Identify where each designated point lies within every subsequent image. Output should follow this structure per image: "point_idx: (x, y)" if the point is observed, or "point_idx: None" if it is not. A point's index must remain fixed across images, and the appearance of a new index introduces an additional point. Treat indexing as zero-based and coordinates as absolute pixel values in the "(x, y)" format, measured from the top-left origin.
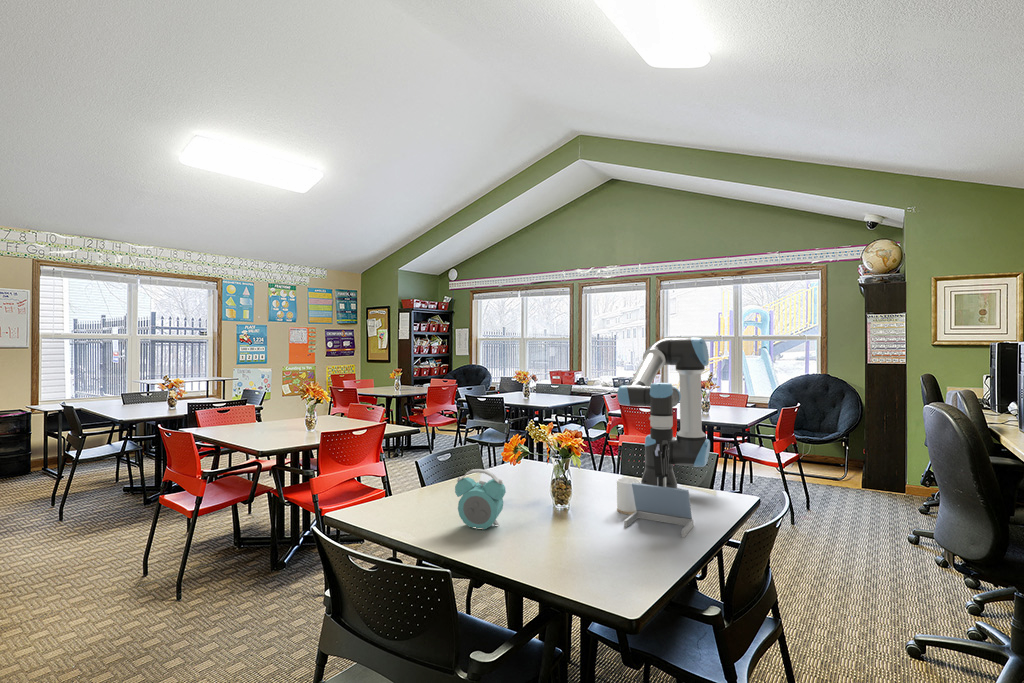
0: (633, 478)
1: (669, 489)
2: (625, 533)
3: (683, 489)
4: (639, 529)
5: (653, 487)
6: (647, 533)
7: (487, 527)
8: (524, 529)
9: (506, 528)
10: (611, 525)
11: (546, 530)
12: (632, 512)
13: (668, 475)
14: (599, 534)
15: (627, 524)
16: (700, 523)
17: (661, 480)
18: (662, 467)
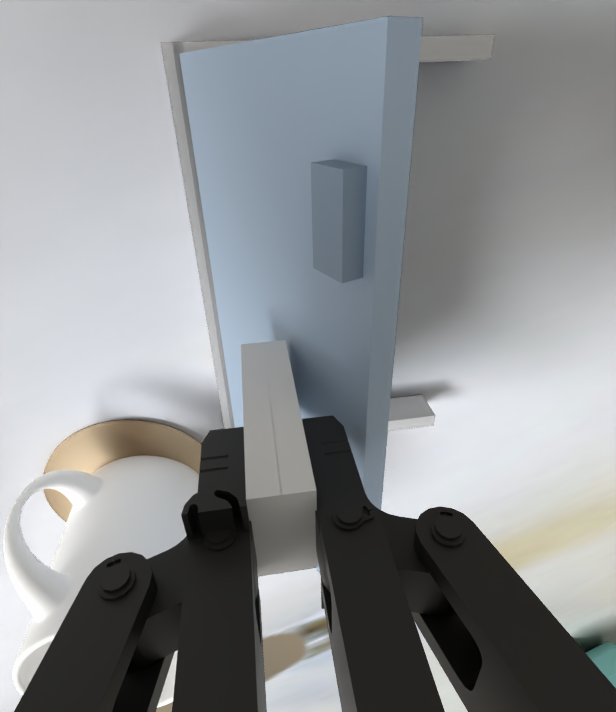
0: (18, 685)
1: (391, 321)
2: (508, 363)
3: (388, 120)
4: (423, 336)
5: (377, 475)
6: (471, 278)
7: (612, 643)
8: (568, 595)
9: (572, 622)
10: (421, 450)
11: (561, 560)
12: (187, 465)
13: (212, 502)
14: (554, 434)
15: (409, 402)
16: (47, 5)
17: (361, 485)
18: (536, 691)
